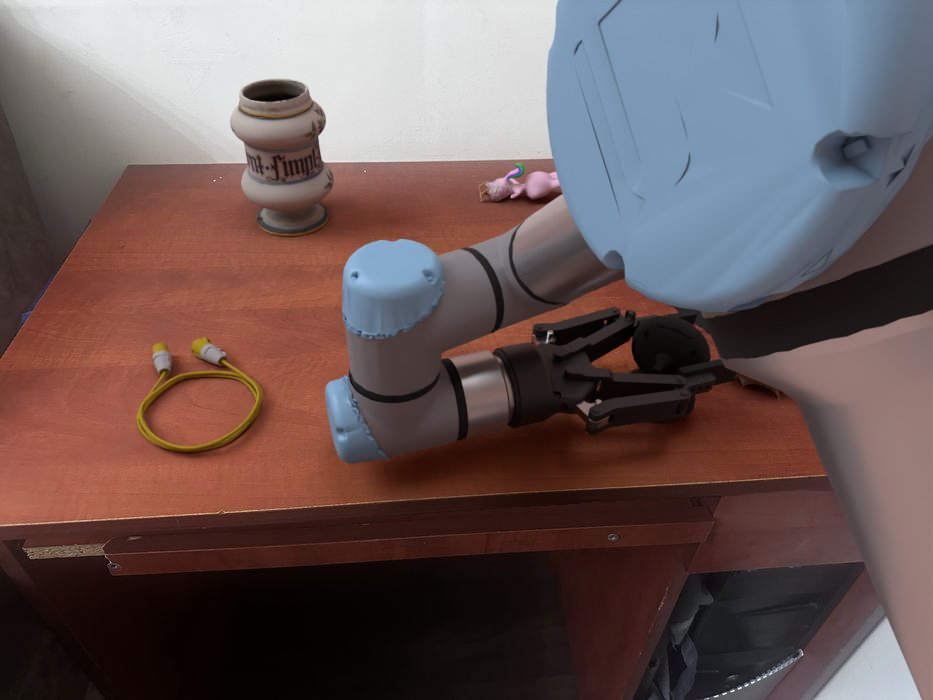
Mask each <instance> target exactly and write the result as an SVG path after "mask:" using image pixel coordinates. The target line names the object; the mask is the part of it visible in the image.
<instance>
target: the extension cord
mask: <svg viewBox="0 0 933 700" xmlns="http://www.w3.org/2000/svg"><path fill="white" fill-rule="evenodd" d="M151 349H152V363H153V365H154V367H155V369H156V371H157V374H158V375H159V378H158V380H157V382H155V384H154V386H153V387H152V389H151V390H150V391H149V393H148V395H147V396H145V399H143V400H142V402H141V404H140V406H139V409H138V410H137V414H136V424H137V428H138V430H139V432H140V433H141V435H142V436H143V437H144V439H146V440H148V441H149V442H150V443H152V444H153V445H155V446H157V447H159V448H162V449H165V450H170V451H175V452H185V453H193V452H202V451H208V450H212V449H217V448H219V447H221V446H225V445H226V444H228V443H230V442H231V441H233V440H234V439H236V438H237V437H238V436H240V435H241V434H242V433H243V432H244V431H245V430H247V428H248V427H249V426H250V425H251V424H252V423H253V422H254V421H255V419H256V418H257V417H258V415H259V414H260V411H261V404H262V402H263V397H264V396H263V390H262V388H261V386H260V385H259V384H258V382H257V381H255V380H254V379H252V378H251V377H249V376H248V375H247V374H245V372H243V371H242V370H240V369H238V368H237V367H236V366H234V365H232V364H231V363H229V362H228V357H227V353H226V352H224V351H222V348H221V347H219V348H218V347H217V346H216V345H214V344H212V341H211V339H210V338H208V336H203V337H201V338H197V339H196V338H195V340H194V341H193V342H192V343H191V346H190V351H189V352H190V353H191V354H193V356H195V357H197V358H198V359H200V360H204V361H206V362H207V363H211V364H214V365H217V366H219V367H223V366H226V367H228V368H229V369H230V370H232V371H226V370H204V371H202V370H201V371H192V372H184V373H181V374H178V375H176V376H174V377H172V378H170V379H168V380H167V381H165V382H164V383H163V384H161V383H162V382H163V381H164V378H166V377H168V376H170V375H171V373H172V371H171V370H172V364H173V359H172V354H171V351H170V350H169V346H168V344H166V343H164V342H157V343H155V344H153V346H152V348H151ZM233 371H234V372H233ZM209 377H210V378H214V377H215V378H224V379H225V378H226V379H232V380H236V381H239V382H241V383H242V384H244V385H245V386H246V387H247V388H248V389H249V390H250V392H251V393H252V394H253V396H254V399H255V403H254V405H253V407H252V409H251V411H250V412H249V414H248V415H247V416H246V417H245V419H244V420H243V421H242V422H241V423H240V424H239V425H238V426H237V427H235V428H234V429H233V430H231V431H230V432H228V433H227V434H226V435H223V436H222V437H220V438H217V439H215V440H213V441H210V442H207V443H203V444H199V445H190V446H189V445H181V444H174V443H172V442H169V441H167V440H164V439H162V438H160V437H158V436H157V435H155V433H153V432H152V430H150V428H149V427H148V426H149V425H148V424H147V422H146V420H145V418H144V415H145V412H146V410H147V409H148V408H149V406H150V405H151V404H152V402H153V401H155V400H156V399H158V397H159V396H160V395H161V394H162V393H164V392H165V391H167V390H168V389H169V388H171V387H172V386H173V385H175V384H177V383H178V382H181V381H184V380H188V379H195V378H209ZM160 384H161V385H160Z"/></svg>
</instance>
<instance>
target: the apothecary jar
mask: <svg viewBox="0 0 933 700" xmlns="http://www.w3.org/2000/svg"><path fill="white" fill-rule="evenodd" d="M238 97H239V102H238V105H237V106H236V107H234V109H233V111H232V112H231V115H230V118H229V123H230V128H231V131H232V132H233V134H234V135H235V136H236V138H237V139H239V140H240V141H241V142H243V146H244V151H245V157H246V164H247V167H246V168H245V169H244V171H243V173H242V176H241V181H240V186H241V190H242V192H243V194H244V196H245V198H247V199H248V200H249V201H250V202H251V203H253V204H255V205H256V206H258V207H260V209H259V210H258V211H257V213H256V216H255V222H257V223H258V224H259V228H260V229H261V230H262V231H264V232H265V233H267V234H270V235H275V236H280V237H299V236H303V235H308V234H311V233H314V232H316V231H318V230H320V229H321V228H322V227H324V226H325V225H326V224H327V223H328V220H329V215H330V214H329V211H328V210H327V208H326V207H325V205H323V204H321V203H320V202H321V201H323V200H324V199H325V198H326V197H327V196H328V195H329V194H330V192H331V191H332V189H333V187H334V181H335V180H334V174H333V172H332V169H331V167H329V165H328V164H327V163H326V162H325V161H324V160H323V159H322V154H321V146H320V139H319V136H320V135H321V134H322V133H323V131H324V130H325V127H326V124H327V116H326V113H325V111H324V109H323V107H322V106H321V105H320V104H318V102H316V101H315V100H313V99H312V97H311V93H310V89H309V86H308V85H307V84H306V83H304V82H302V81H300V80H296V79H293V78H292V79H290V78H266V79H260V80H255V81H253V82H250V83H248V84H246V85H244V86H243V87H242V88H241V89H240V90H239V96H238Z"/></svg>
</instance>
